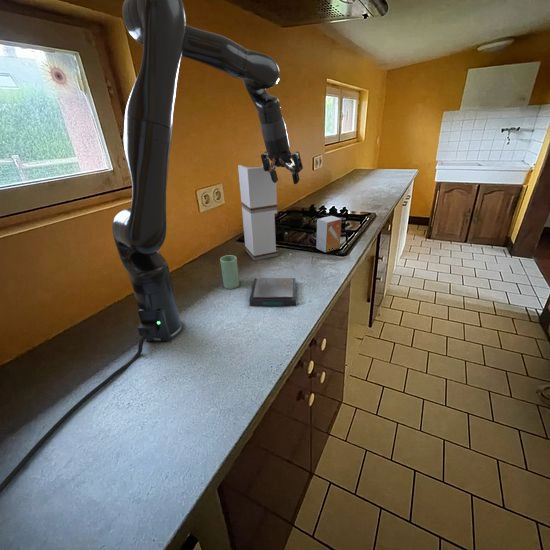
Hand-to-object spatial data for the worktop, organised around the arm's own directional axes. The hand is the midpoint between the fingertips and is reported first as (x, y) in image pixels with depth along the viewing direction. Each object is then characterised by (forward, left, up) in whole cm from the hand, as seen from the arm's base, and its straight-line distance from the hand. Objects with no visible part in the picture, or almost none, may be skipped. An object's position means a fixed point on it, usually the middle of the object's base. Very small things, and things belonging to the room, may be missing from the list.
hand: (286, 182), depth 105 cm
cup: (-19, +19, -30) cm, 40 cm away
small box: (+12, -17, -31) cm, 37 cm away
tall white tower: (+8, +11, -31) cm, 33 cm away
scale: (-25, +4, -30) cm, 39 cm away
